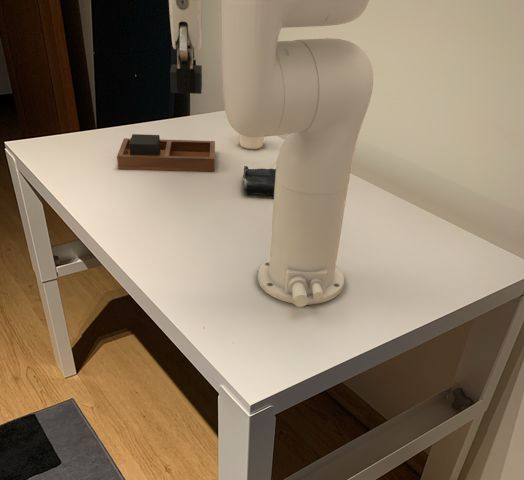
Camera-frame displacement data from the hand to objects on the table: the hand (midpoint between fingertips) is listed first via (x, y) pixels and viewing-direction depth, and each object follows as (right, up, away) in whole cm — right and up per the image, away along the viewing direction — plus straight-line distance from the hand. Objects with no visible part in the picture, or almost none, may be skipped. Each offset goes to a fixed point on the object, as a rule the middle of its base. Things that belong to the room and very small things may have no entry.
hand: (187, 86), depth 103 cm
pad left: (-10, -9, +10) cm, 17 cm away
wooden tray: (-5, -10, +11) cm, 16 cm away
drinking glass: (+12, -4, +20) cm, 24 cm away
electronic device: (+18, -19, +3) cm, 26 cm away
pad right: (0, 0, 0) cm, 0 cm away
